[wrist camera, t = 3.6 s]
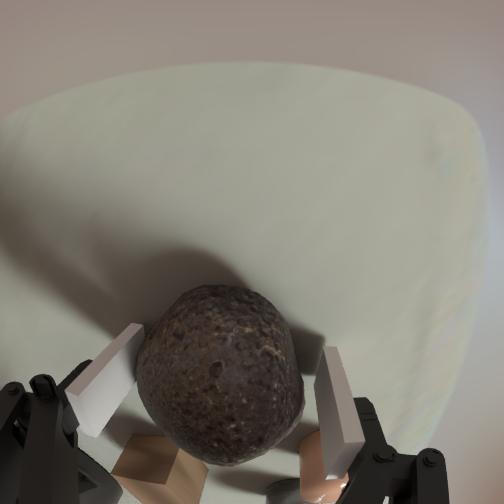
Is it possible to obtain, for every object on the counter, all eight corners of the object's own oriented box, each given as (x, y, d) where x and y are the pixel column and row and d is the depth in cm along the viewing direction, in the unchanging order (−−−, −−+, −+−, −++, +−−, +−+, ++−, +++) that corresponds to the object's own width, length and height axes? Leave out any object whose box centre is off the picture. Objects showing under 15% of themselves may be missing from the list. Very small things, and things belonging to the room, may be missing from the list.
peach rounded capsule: (294, 458, 17) (294, 504, 12) (304, 428, 16) (307, 480, 11) (344, 457, 16) (351, 500, 12) (359, 427, 15) (371, 475, 11)
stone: (238, 388, 20) (347, 444, 12) (136, 425, 14) (222, 531, 7) (228, 263, 19) (362, 273, 11) (103, 280, 14) (173, 326, 6)
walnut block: (160, 465, 19) (143, 504, 14) (133, 432, 18) (109, 474, 13) (208, 468, 18) (196, 513, 13) (184, 435, 17) (165, 484, 12)
